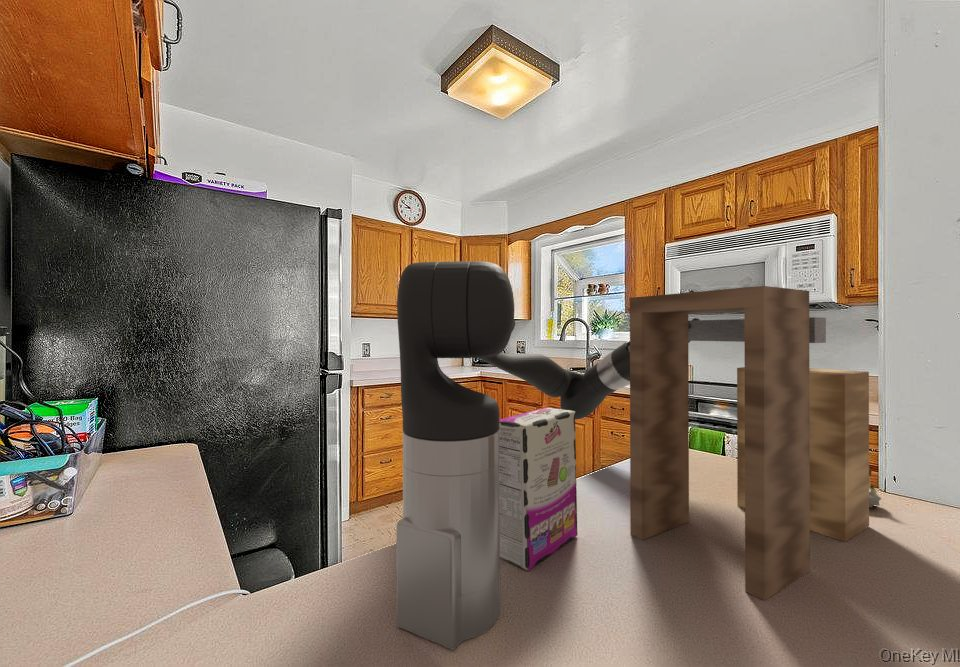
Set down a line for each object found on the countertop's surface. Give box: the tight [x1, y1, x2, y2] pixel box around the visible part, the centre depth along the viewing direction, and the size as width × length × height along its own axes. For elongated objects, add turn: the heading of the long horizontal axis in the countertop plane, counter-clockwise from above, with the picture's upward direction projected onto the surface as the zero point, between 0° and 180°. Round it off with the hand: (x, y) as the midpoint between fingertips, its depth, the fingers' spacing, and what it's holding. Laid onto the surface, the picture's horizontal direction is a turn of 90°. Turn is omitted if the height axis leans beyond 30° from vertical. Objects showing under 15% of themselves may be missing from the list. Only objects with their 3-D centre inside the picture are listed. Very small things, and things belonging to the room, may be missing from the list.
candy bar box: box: [499, 407, 579, 571], centre depth 52 cm, size 11×5×16 cm, turn 137°
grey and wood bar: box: [688, 316, 827, 344], centre depth 68 cm, size 24×4×4 cm, turn 31°
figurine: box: [869, 469, 882, 508], centre depth 64 cm, size 5×4×6 cm
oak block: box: [736, 366, 870, 543], centre depth 60 cm, size 13×8×21 cm, turn 31°
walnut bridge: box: [629, 285, 811, 601], centre depth 51 cm, size 10×16×31 cm, turn 31°
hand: (692, 322), depth 74 cm, fingers closed on grey and wood bar, 3 cm apart
